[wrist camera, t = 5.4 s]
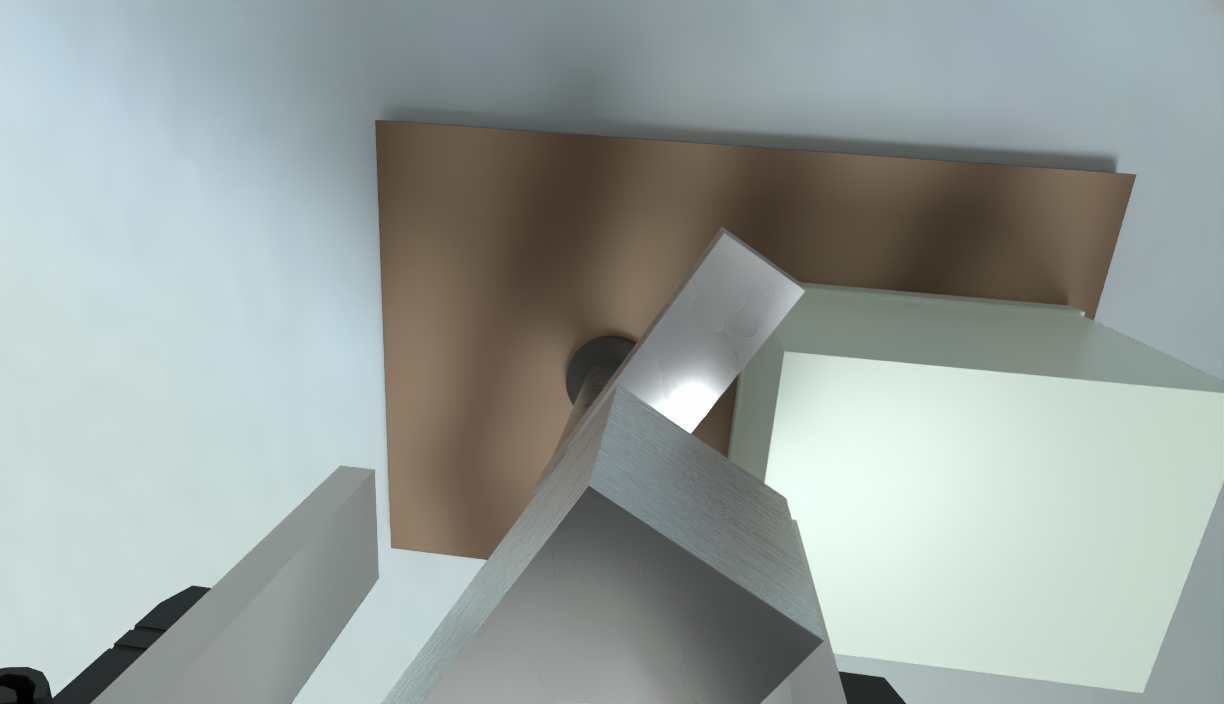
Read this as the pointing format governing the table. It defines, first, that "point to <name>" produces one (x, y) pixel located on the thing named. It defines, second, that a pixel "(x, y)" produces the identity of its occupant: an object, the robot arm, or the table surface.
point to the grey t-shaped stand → (642, 534)
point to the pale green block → (984, 479)
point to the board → (653, 277)
